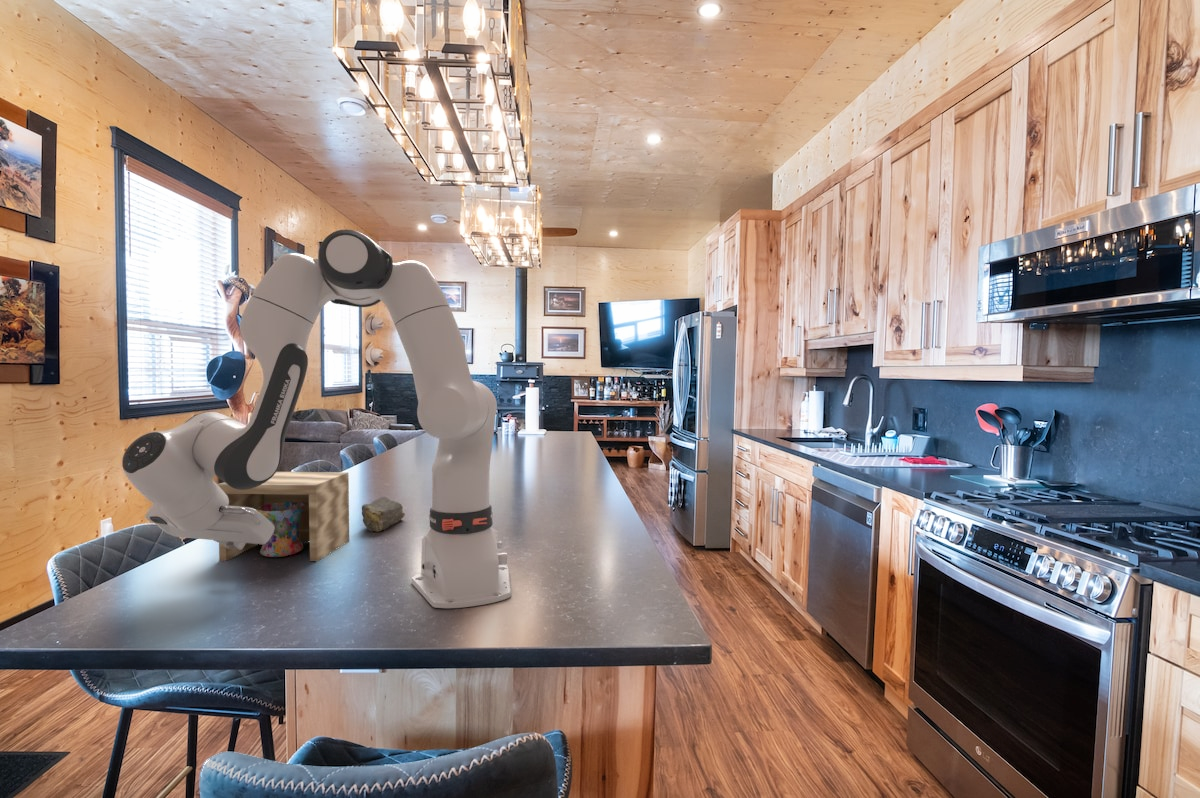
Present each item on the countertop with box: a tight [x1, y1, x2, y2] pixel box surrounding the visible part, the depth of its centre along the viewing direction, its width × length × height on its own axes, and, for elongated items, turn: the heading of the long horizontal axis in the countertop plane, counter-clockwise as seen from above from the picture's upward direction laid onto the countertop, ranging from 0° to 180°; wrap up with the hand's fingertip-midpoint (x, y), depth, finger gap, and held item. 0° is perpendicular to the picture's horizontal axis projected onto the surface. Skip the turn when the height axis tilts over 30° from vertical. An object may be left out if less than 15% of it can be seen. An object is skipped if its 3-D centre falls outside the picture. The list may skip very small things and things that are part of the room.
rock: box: [361, 496, 406, 533], centre depth 154 cm, size 17×7×10 cm
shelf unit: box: [217, 471, 350, 562], centre depth 131 cm, size 16×21×16 cm
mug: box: [257, 502, 305, 558], centre depth 131 cm, size 12×9×11 cm
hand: (237, 545), depth 113 cm, fingers closed
